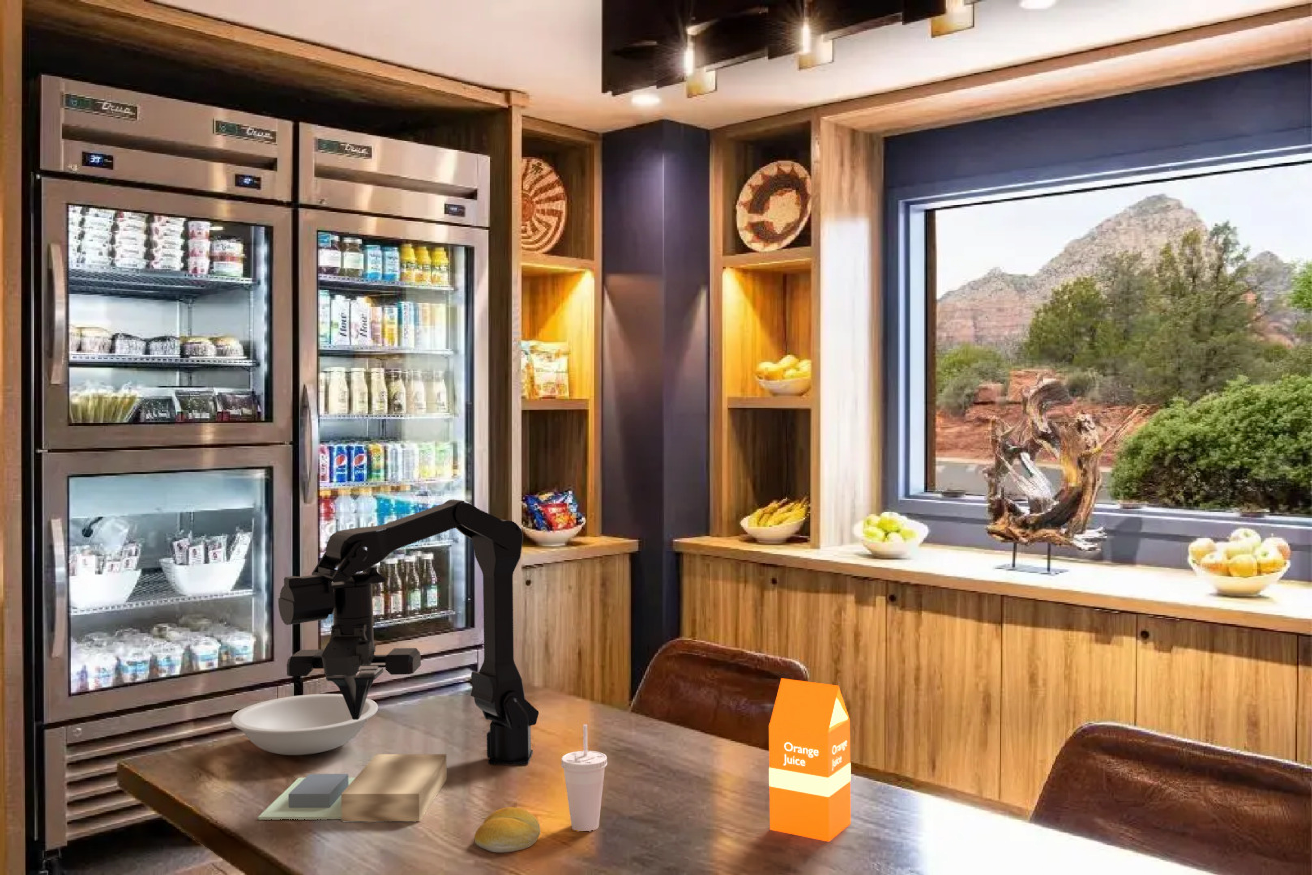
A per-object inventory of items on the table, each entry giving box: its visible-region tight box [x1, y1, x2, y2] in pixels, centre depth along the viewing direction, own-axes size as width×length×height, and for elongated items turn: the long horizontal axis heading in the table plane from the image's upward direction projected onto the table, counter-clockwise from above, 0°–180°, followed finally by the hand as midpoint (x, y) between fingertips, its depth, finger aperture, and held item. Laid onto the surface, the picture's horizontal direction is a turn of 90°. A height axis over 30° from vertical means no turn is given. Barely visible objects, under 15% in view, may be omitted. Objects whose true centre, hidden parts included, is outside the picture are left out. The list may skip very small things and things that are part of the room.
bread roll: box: [474, 806, 541, 854], centre depth 153 cm, size 8×9×4 cm
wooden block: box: [341, 753, 448, 823], centre depth 170 cm, size 11×18×4 cm, turn 178°
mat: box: [257, 776, 357, 821], centre depth 171 cm, size 12×17×1 cm
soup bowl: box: [230, 693, 379, 756], centre depth 195 cm, size 24×24×7 cm
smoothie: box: [560, 724, 608, 832], centre depth 158 cm, size 6×6×14 cm
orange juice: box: [768, 678, 852, 842], centre depth 157 cm, size 8×9×20 cm
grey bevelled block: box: [289, 773, 349, 808], centre depth 170 cm, size 6×9×2 cm, turn 178°
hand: (356, 718), depth 171 cm, fingers closed
